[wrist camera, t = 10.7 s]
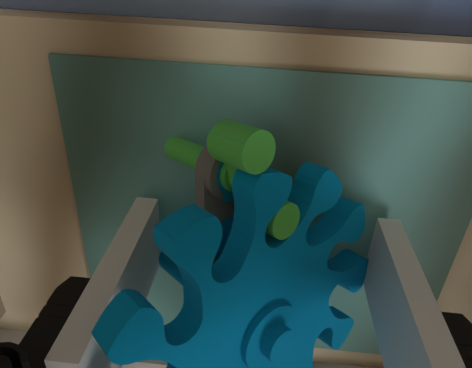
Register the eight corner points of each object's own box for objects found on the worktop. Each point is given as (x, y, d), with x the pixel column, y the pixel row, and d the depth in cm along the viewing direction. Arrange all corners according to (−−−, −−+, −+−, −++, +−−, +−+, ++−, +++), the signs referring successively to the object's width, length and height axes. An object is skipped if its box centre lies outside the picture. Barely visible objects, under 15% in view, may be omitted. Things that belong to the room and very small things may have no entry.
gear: (365, 384, 16) (133, 601, 10) (262, 308, 20) (55, 428, 14) (412, 104, 12) (62, 188, 6) (269, 81, 16) (-19, 117, 10)
